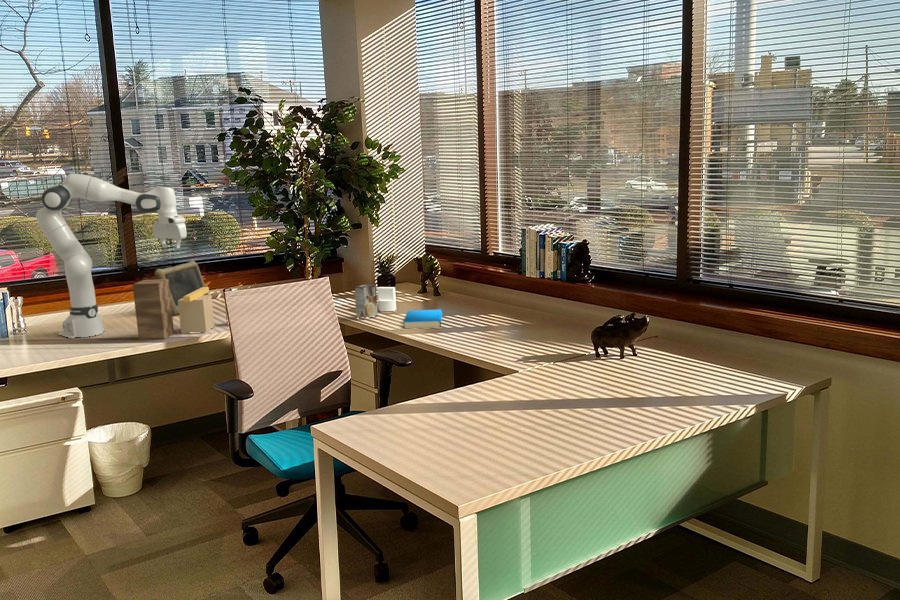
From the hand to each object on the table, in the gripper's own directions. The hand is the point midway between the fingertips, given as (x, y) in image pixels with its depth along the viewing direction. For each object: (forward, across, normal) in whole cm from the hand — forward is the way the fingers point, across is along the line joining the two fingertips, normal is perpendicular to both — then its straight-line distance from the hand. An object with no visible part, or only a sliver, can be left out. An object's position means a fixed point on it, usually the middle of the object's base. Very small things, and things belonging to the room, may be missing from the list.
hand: (171, 247), depth 405 cm
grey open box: (+39, -33, +32) cm, 60 cm away
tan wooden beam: (+23, +15, 0) cm, 27 cm away
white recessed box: (+39, +74, +71) cm, 110 cm away
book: (+40, +108, +54) cm, 127 cm away
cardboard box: (+39, +16, -2) cm, 42 cm away
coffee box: (+39, +75, +53) cm, 100 cm away
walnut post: (+39, +7, -19) cm, 44 cm away
